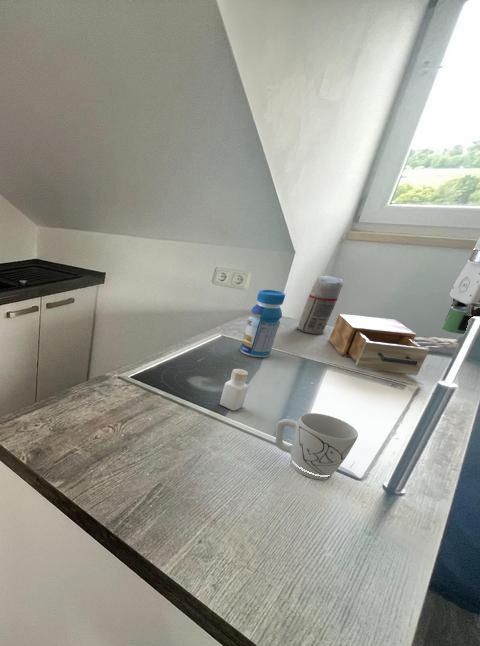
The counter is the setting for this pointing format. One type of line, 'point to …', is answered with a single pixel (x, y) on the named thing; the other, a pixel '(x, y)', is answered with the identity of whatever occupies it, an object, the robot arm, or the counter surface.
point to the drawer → (386, 352)
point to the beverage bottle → (263, 324)
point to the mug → (317, 443)
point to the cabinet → (363, 329)
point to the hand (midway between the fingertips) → (459, 325)
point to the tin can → (455, 319)
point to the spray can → (320, 304)
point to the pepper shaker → (235, 390)
